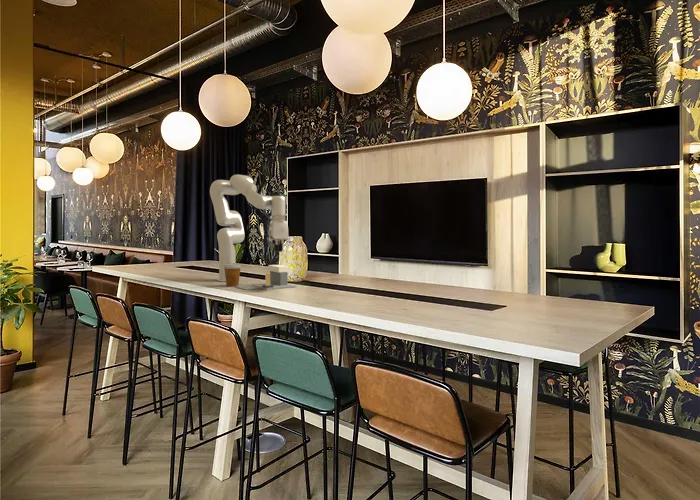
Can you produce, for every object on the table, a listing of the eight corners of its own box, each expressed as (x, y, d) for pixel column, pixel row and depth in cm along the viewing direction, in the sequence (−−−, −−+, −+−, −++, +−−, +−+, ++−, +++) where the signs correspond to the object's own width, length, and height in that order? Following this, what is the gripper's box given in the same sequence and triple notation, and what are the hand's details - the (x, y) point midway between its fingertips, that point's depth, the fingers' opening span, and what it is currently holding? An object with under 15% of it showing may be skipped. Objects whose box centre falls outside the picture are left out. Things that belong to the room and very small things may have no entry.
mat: (235, 287, 250) (235, 286, 250) (249, 285, 255) (249, 285, 255) (245, 290, 240) (245, 289, 240) (260, 288, 245) (260, 288, 245)
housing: (251, 286, 255) (251, 271, 255) (280, 283, 266) (280, 269, 266) (266, 289, 241) (266, 274, 241) (296, 287, 252) (296, 272, 252)
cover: (268, 270, 261) (268, 265, 261) (278, 269, 265) (278, 264, 265) (278, 272, 252) (278, 266, 251) (289, 271, 255) (289, 266, 255)
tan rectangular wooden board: (265, 287, 235) (265, 273, 235) (265, 283, 249) (265, 271, 248) (270, 287, 236) (270, 273, 235) (270, 283, 249) (270, 271, 249)
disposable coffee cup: (243, 284, 260) (243, 263, 259) (238, 287, 250) (237, 265, 250) (227, 284, 261) (227, 263, 260) (220, 286, 251) (220, 264, 251)
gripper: (269, 218, 249) (268, 252, 250) (294, 218, 258) (294, 251, 259) (262, 218, 254) (262, 251, 256) (287, 218, 264) (287, 250, 265)
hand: (278, 251), depth 257 cm, fingers closed
